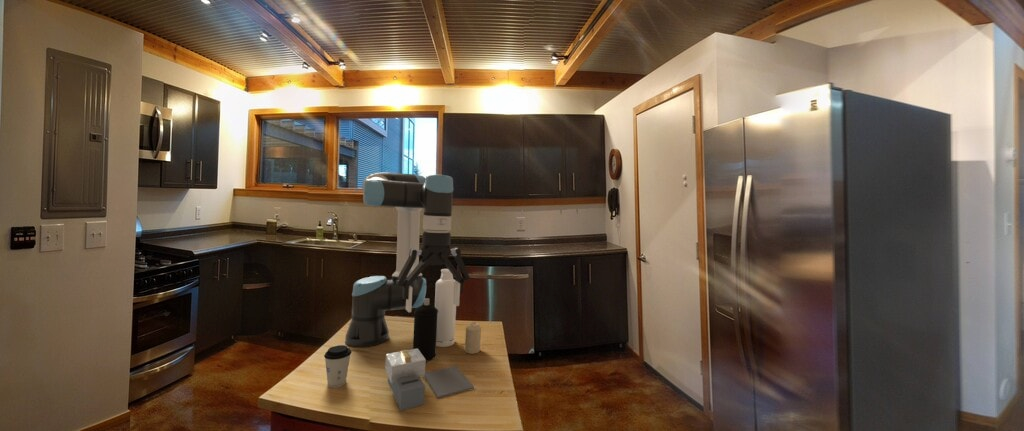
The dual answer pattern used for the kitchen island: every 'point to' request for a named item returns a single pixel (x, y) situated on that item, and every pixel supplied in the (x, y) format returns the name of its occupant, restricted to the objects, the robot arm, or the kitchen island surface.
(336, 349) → the coffee cup
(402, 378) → the lever cap
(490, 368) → the kitchen island surface
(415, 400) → the block plane
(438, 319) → the bottle
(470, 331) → the candle
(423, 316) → the aerosol can
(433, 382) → the rubber mat
